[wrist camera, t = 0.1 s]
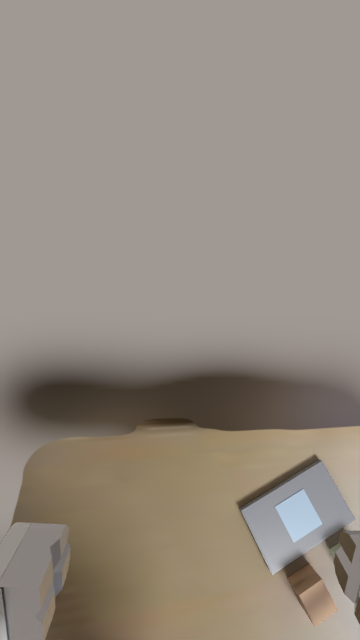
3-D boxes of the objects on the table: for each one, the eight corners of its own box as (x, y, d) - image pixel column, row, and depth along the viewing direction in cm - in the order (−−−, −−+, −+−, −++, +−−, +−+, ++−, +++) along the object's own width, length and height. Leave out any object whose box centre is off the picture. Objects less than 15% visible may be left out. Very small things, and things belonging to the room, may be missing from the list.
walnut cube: (322, 590, 53) (338, 609, 48) (301, 605, 52) (314, 626, 47) (308, 563, 54) (321, 579, 49) (287, 577, 53) (299, 595, 48)
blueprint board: (351, 516, 56) (355, 519, 55) (270, 571, 53) (272, 575, 52) (318, 459, 59) (322, 461, 58) (239, 508, 56) (241, 511, 55)
